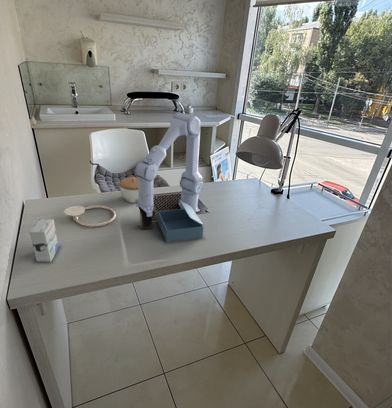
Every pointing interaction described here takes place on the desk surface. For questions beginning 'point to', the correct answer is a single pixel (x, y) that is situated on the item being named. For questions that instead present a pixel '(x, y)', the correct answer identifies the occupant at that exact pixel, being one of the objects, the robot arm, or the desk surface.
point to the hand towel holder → (78, 210)
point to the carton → (178, 225)
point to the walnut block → (143, 223)
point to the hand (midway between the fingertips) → (146, 223)
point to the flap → (190, 212)
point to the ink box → (44, 240)
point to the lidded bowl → (130, 189)
